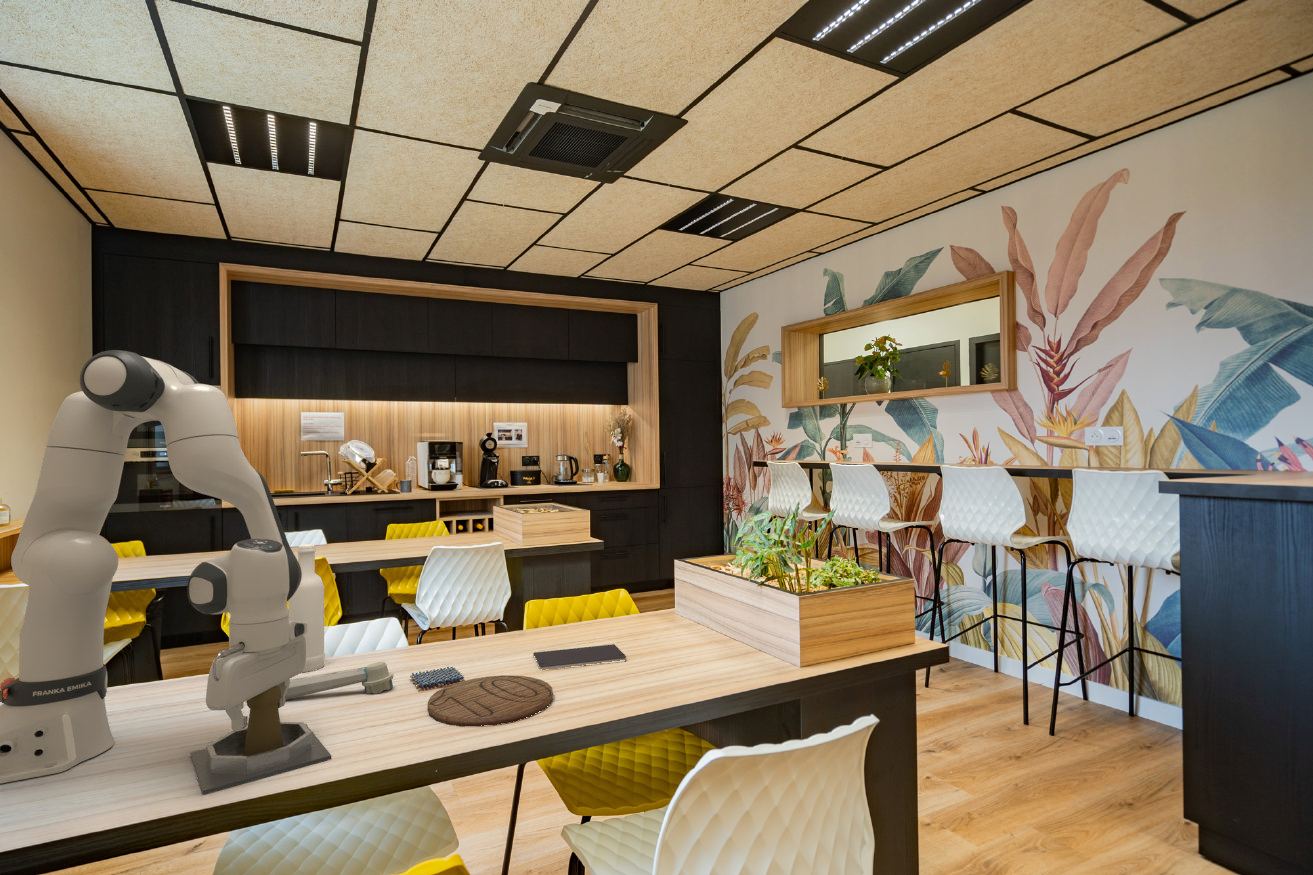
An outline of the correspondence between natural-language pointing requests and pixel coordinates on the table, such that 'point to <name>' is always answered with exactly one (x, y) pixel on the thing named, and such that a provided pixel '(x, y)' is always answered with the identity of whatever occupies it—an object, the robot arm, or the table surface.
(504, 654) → the table surface
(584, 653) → the notebook
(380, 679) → the toothbrush head
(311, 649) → the bottle
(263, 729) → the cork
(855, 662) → the table surface
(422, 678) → the woven mat
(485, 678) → the trivet
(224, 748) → the duct collar
